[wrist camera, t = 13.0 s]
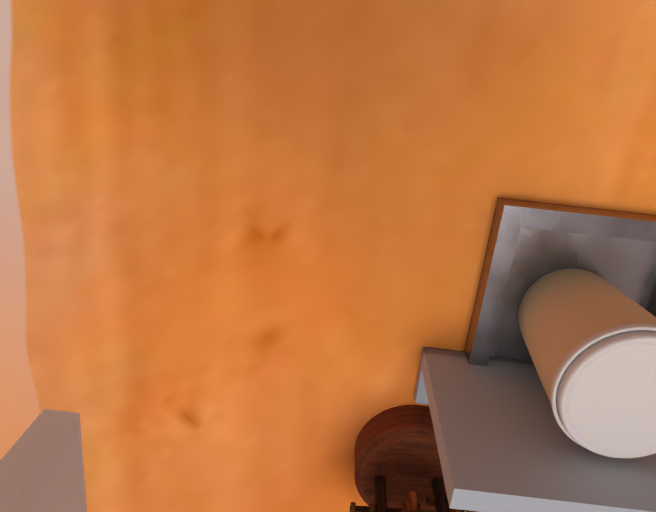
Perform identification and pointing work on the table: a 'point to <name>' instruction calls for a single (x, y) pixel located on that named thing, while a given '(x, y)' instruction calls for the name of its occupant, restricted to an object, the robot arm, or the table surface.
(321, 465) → the table surface
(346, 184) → the table surface
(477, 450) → the wall board
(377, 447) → the music box
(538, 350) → the coffee cup
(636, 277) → the plate
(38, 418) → the robot arm
